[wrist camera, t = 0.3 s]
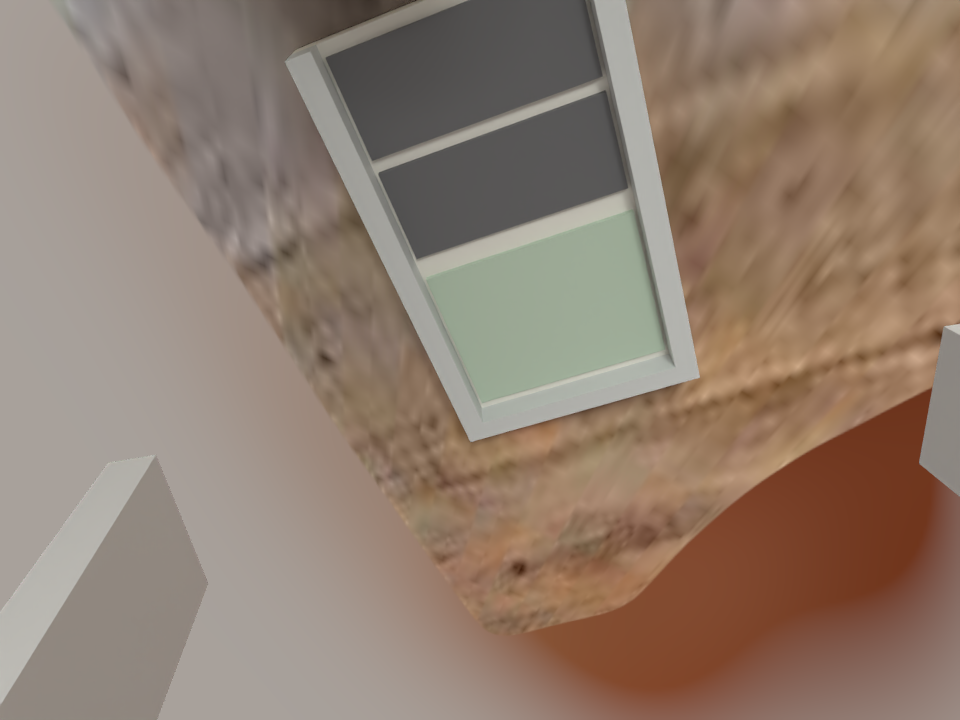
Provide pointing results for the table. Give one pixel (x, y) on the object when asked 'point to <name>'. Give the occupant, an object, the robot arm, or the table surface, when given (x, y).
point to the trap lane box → (510, 198)
